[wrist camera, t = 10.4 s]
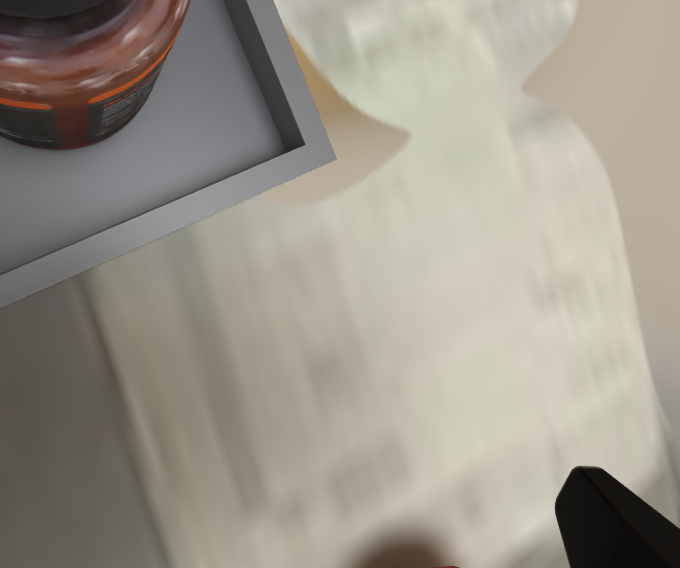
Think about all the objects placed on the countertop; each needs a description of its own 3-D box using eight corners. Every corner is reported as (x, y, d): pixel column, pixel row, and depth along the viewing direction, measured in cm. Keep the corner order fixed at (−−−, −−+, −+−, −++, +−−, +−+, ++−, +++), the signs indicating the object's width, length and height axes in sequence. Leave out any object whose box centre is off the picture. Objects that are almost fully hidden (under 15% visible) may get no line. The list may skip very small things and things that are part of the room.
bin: (-53, 324, 19) (-74, 341, 17) (-308, -108, 17) (-385, -175, 14) (305, 167, 23) (336, 159, 21) (151, -206, 20) (163, -274, 18)
